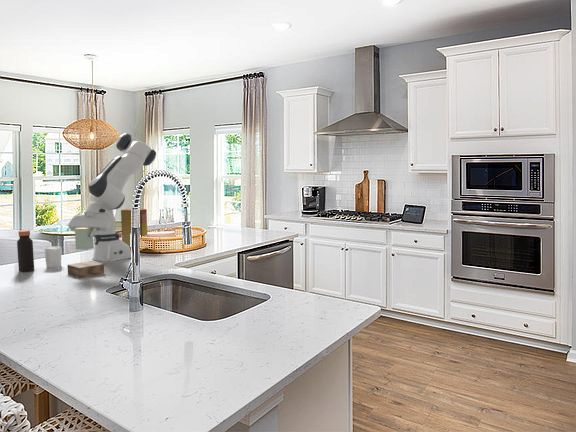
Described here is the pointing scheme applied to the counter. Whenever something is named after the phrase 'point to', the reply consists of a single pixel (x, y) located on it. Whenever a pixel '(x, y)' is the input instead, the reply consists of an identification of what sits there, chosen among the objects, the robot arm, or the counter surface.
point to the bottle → (25, 252)
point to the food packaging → (127, 224)
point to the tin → (83, 238)
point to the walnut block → (85, 269)
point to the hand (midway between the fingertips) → (83, 236)
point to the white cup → (53, 256)
